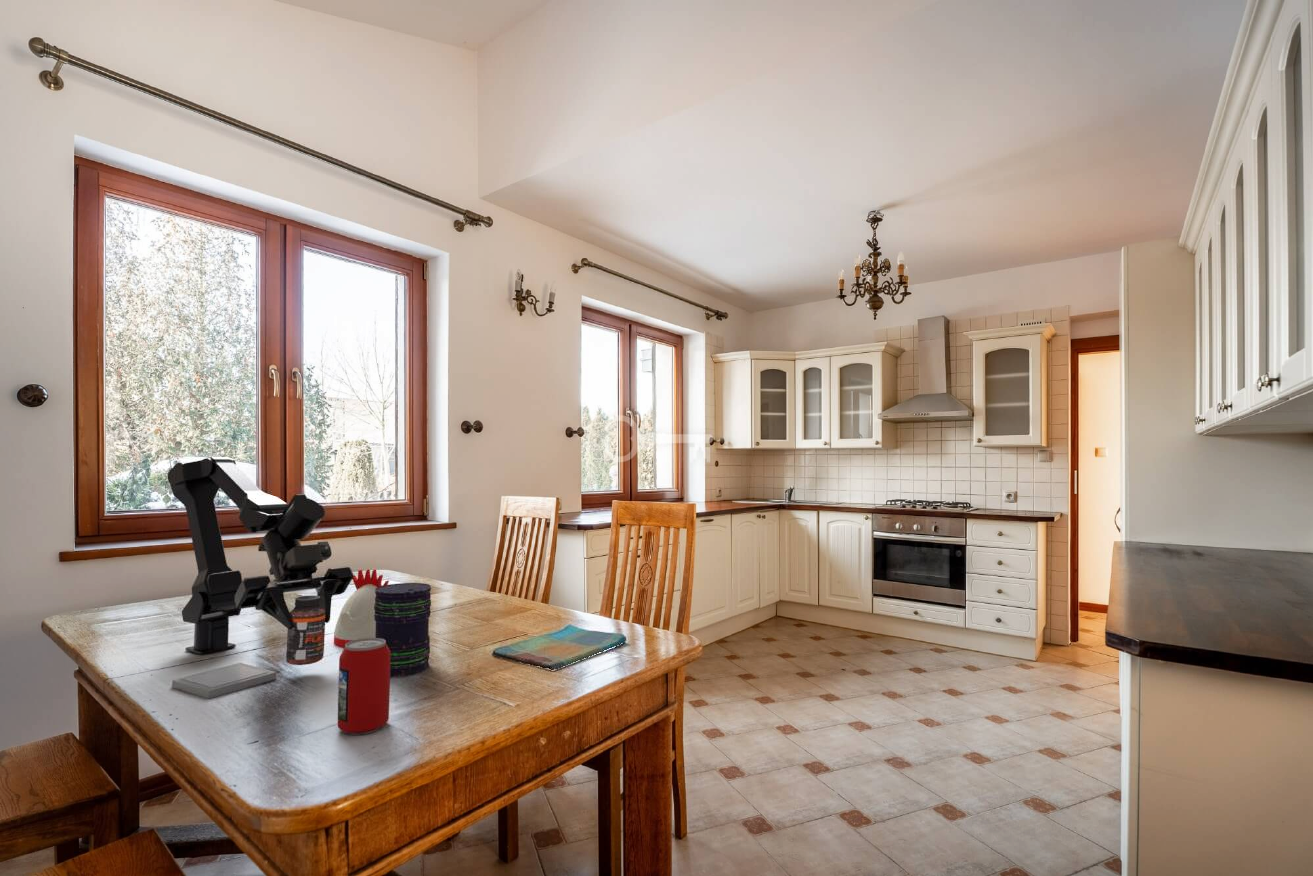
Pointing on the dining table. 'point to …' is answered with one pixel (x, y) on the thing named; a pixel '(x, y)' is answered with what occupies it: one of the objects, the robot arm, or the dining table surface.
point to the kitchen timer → (358, 610)
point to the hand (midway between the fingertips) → (310, 624)
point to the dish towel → (559, 647)
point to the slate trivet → (223, 680)
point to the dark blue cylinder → (404, 626)
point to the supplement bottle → (306, 632)
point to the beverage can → (364, 686)
